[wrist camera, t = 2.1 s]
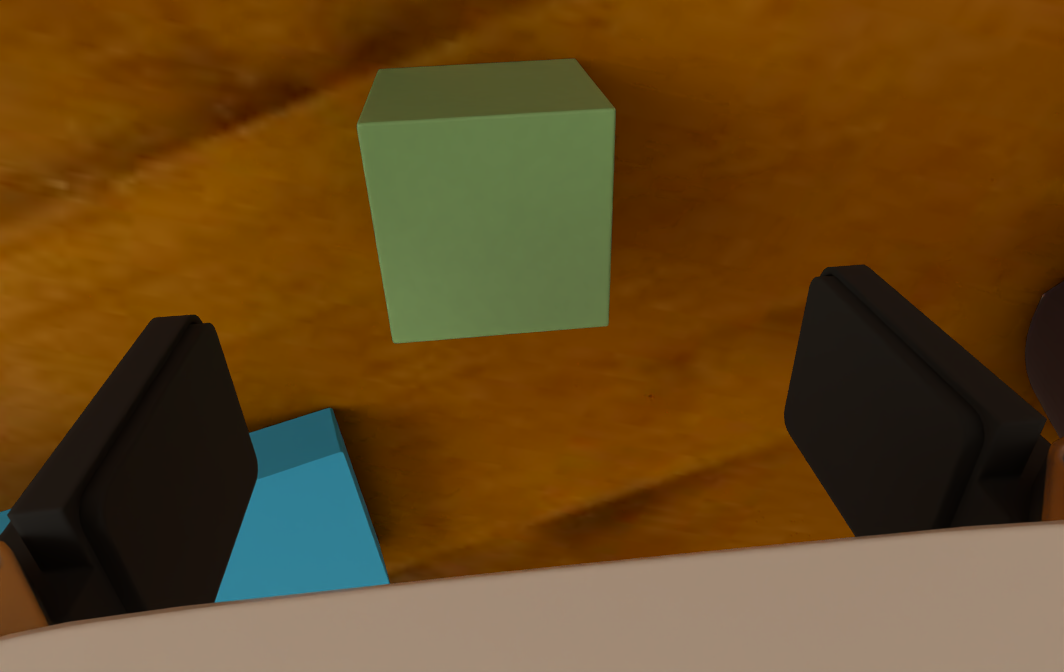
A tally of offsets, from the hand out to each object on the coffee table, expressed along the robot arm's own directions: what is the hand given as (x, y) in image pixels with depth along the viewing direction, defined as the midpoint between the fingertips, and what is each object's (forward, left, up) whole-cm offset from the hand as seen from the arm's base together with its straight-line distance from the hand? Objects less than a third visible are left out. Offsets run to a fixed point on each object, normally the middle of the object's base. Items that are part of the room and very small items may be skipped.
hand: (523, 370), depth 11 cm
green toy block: (0, 0, -9) cm, 9 cm away
